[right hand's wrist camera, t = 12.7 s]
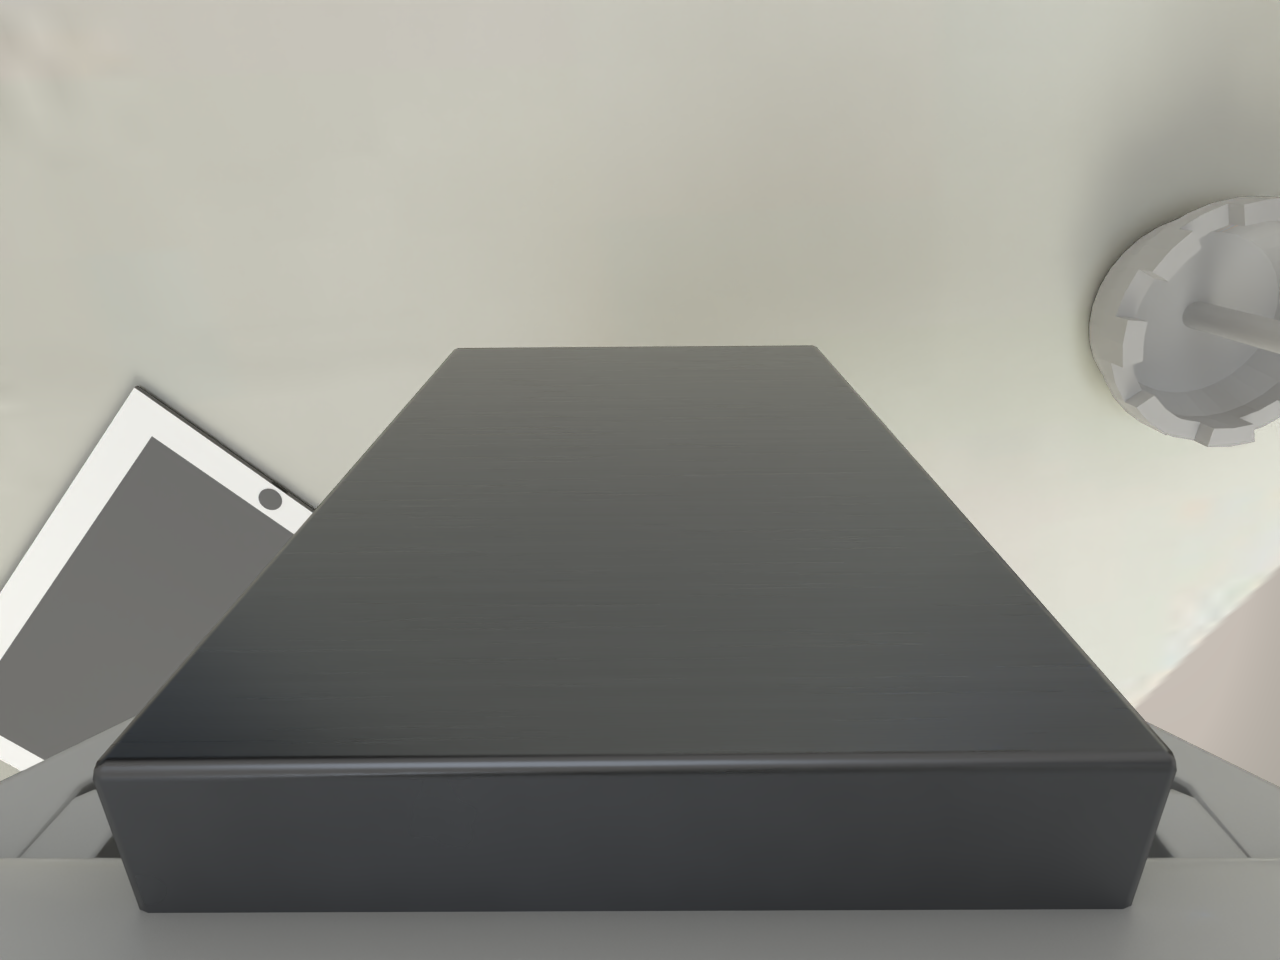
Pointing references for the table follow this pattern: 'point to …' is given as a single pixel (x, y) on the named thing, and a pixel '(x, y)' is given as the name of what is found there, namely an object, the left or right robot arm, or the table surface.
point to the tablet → (130, 577)
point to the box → (635, 673)
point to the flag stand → (1196, 323)
